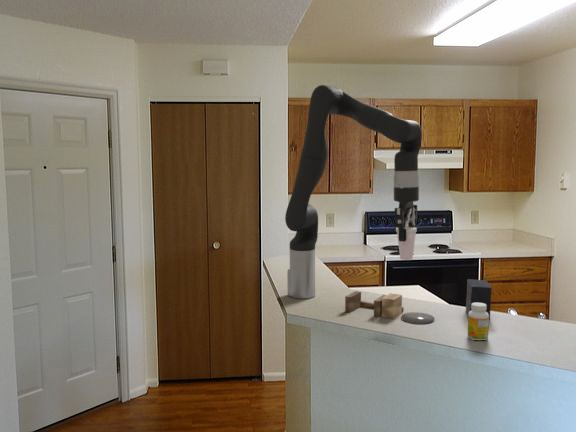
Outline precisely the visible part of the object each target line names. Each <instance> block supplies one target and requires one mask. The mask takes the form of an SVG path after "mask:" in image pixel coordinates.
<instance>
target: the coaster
mask: <svg viewBox="0 0 576 432" xmlns="http://www.w3.org/2000/svg"><path fill="white" fill-rule="evenodd" d="M401 320H402V321H404V322H406V323H408V324H409V323H410V324H414V325H415V324H417V325H427V324H431V323H433V322H435V316H433V315H432V314H430V313H429V314H428V313H424V312H416V311H415V312H405V313H403V314H401Z"/></svg>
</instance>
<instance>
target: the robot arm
mask: <svg viewBox="0 0 576 432" xmlns="http://www.w3.org/2000/svg"><path fill="white" fill-rule="evenodd" d="M309 99H310V101H309V108H308V117H307V124H306V128H305V129H306V130H305V135H304V141H303V146H302V150H301V153H300V157H299V160H298V161H299V163H298V167H297V168H298V169H297V173H296V177H295V182H294V184H293V185H294V186H293V189H292V192H291V196H290V199H289V203H288V205H287V208H286V211H285V217H284V220H285V225H286V227H287V228H288V229H289V230H290V231H291V232H296V233H295V235H294V237H293V238H292V239H291V240H290V241H289V269H288V270H287V273H286V274H287V296H289V297H291V298H295V299H311V298H314V297H315V296H316V244H317V241H318V236H319V235H318V234H319V214H318V211H317V209H316V208H315V207H314V205H312V204H310V203H309V202H310V198H311V195H313V191H314V190H315V189H316V187H317V186H318V184H319V182H320V181H321V179H322V177H323V175H324V172H325V171H326V170H325V169H326V166H327V162H328V157H329V149H328V142H327V139H326V138H327V137H326V125H327V121H328V116H329V115H338V116H341V117H342V116H343V117H347V118H350V119H351V120H354V121H356V122H357V123H358V124H359V125H361V126H363V127H365V128H367V129H369V130H371V131H373V132H375V133H378V134H381V135H383V136H384V137H385V138H387V139H389V140H390V141H393V142H395V143H398V144H400V148H399V151H398V152H396V153H395V155H394V165H393V166H394V168H393V169H394V171H393V172H394V173H393V174H394V175H393V201H394V202H398V207H395V208H394V225H395V228H398V229H399V241H406V227H407V223H408V227H416V224H418V223H417V222H418V204H414V202H418V201H419V199H420V185H419V183H420V179H419V171H418V170H419V164H418V163H419V161H418V160H419V159H418V157H419V153H420V149H421V144H422V138H423V132H422V127H421V125H420V124H419V123H418V122H417V121H415V120H410V119H403V118H399V117H396V116H395V115H393V114H392V113H391V112H389V111H386V110H384V109H382V108H379V107H376V106H374V105H371V104H368V103H365V102H362V101H360V100H358V99H356V98H354V97H352V96H351V95H349V94H348V93H346V92H345V91H343V90H342V89H340V88H338V87H336V86H330V85H325V84H320V85H318V86H316V87H315V88H314V89H313V91H312V93H311V96H310V98H309Z"/></svg>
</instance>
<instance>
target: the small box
mask: <svg viewBox="0 0 576 432" xmlns="http://www.w3.org/2000/svg"><path fill="white" fill-rule="evenodd" d="M466 283H467V284H466V300H465V301H466V302H465V303H466V304H465V311H466V313H467V315H468V313H469V312H470V311H471V310H472V309H471V304H472V303H476V302H478V303H484V304H486V305H487V309H486V312H487V313H488V314H489V321H490V320H491V306H492V286H491V285H490V283H489V282H488V281H487V280H485V279H484V280H483V279H470V278H468V279H466Z"/></svg>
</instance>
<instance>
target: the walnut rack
mask: <svg viewBox="0 0 576 432" xmlns="http://www.w3.org/2000/svg"><path fill="white" fill-rule="evenodd" d="M344 298H345V300H344V304H345V305H344V307H345V309H344V311H345V312H348V313H352V312H354V311H355V310H357V309H358V308H360V307H363V308H371V309H373V317H377V318H379V317H382V318H386V319H387V318H389V319H396V318H397V317H398V316H400V315H402V313H404V310H405V308H404V306H403V295H402V294H398V293H388V294H387V295H386V294H382V295H381V296H379V297H377V298H376V299H374V300H373V302H371V301H363V300H362V291H358V290H354V291H353V292H351V293H350V294H346V295H345V296H344Z"/></svg>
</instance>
